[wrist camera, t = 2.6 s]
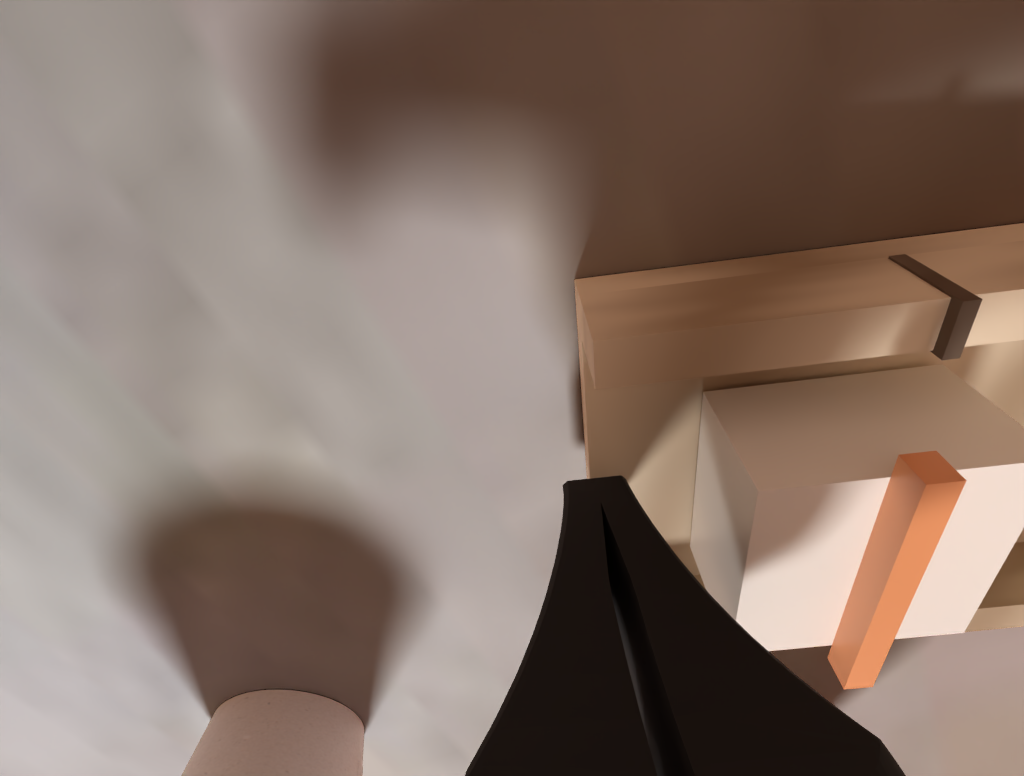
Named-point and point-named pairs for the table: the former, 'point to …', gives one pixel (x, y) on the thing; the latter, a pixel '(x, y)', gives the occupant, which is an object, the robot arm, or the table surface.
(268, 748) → the dixie cup
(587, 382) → the track
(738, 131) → the table surface
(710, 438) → the cream gift box
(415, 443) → the table surface
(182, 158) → the table surface
